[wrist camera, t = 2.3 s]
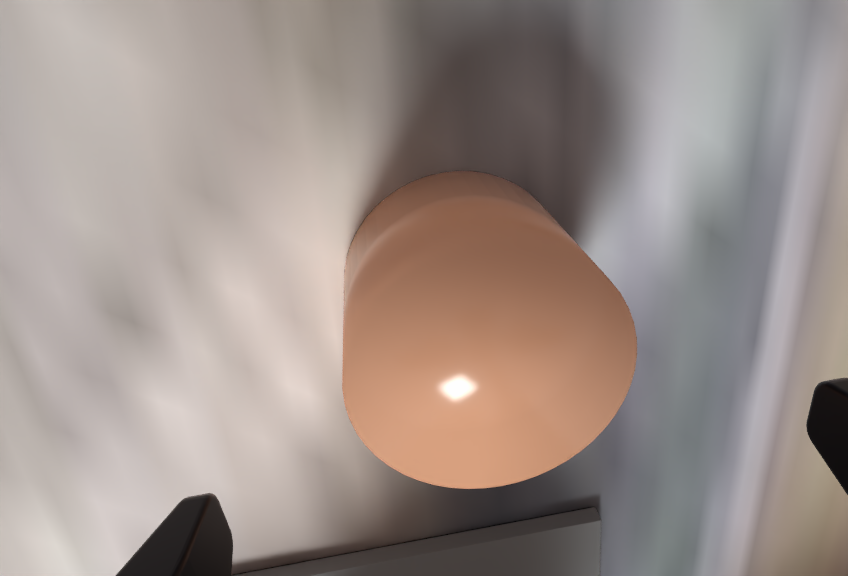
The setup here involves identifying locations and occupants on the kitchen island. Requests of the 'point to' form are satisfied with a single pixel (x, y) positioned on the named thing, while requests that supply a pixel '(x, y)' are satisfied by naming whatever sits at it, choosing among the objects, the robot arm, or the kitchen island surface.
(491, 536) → the mat
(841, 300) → the kitchen island surface
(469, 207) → the peach rounded cylinder
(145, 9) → the kitchen island surface
